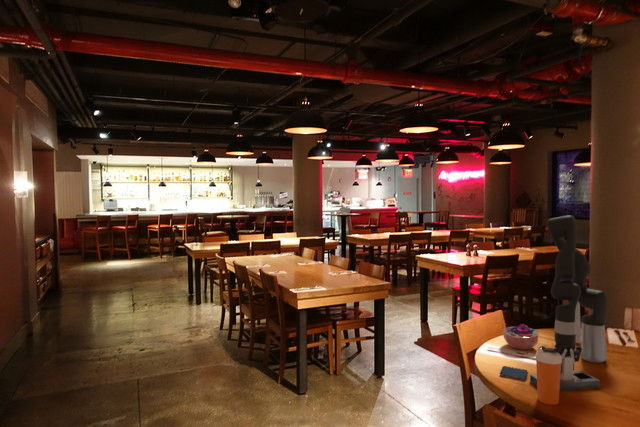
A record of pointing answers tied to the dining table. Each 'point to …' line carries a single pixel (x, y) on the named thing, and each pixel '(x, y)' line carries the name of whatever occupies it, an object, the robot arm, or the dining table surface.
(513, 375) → the woven mat
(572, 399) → the dining table surface
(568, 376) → the peg
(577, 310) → the candlestick
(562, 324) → the robot arm
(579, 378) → the grey slotted frame
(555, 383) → the shaker bottle
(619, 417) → the dining table surface
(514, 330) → the cell model
